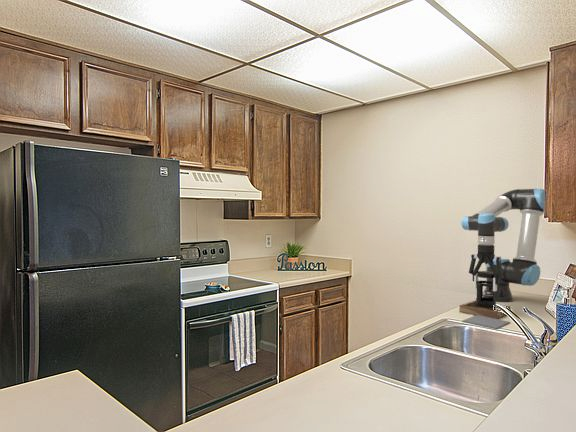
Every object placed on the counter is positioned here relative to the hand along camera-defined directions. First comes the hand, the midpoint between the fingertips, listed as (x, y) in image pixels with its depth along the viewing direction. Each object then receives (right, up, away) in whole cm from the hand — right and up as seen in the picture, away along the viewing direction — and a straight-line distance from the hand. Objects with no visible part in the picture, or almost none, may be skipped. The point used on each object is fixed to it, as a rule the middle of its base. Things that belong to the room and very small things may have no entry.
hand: (485, 289), depth 206 cm
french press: (0, -9, 0) cm, 9 cm away
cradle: (0, -12, 0) cm, 12 cm away
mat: (-8, -12, -17) cm, 22 cm away
